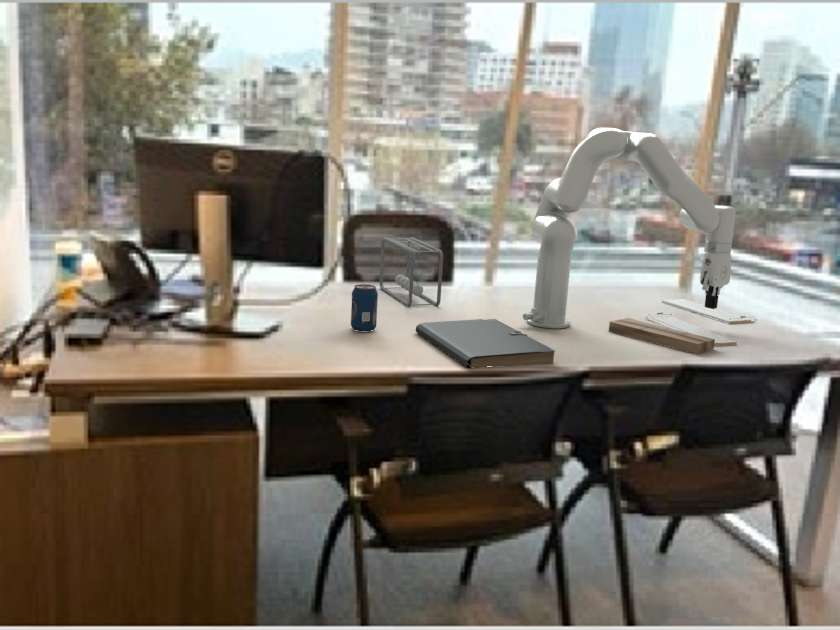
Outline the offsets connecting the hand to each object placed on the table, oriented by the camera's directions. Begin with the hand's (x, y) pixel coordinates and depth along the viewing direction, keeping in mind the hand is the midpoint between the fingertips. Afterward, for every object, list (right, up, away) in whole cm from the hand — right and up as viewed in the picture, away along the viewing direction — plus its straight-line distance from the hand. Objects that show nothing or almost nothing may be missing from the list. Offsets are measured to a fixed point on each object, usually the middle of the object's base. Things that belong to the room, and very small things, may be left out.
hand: (710, 307), depth 257 cm
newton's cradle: (-91, +3, +19) cm, 93 cm away
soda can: (-103, -6, -25) cm, 106 cm away
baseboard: (-9, -8, -6) cm, 13 cm away
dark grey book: (-72, -11, -36) cm, 81 cm away
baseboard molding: (+7, -2, +24) cm, 25 cm away
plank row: (-20, -9, -18) cm, 29 cm away
